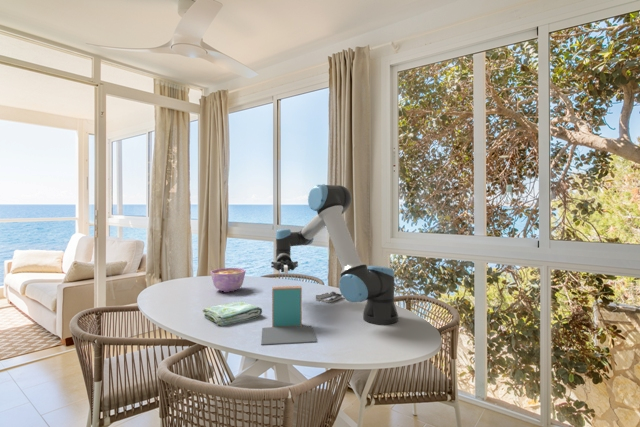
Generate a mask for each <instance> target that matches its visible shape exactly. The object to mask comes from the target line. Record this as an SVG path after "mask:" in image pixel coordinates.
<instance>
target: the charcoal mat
mask: <svg viewBox="0 0 640 427" xmlns="http://www.w3.org/2000/svg"><path fill="white" fill-rule="evenodd" d="M304 343H306V344H310V343H318V340H317V338H316V335H315V332H314V329H313V326H312V324H311V325H302V326H289V327H271V326H269V327H268V326H267V327H262V330H261V344H260V346H266V345H267V346H271V345H285V344H286V345H288V344H304Z"/></svg>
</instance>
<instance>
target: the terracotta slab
mask: <svg viewBox="0 0 640 427" xmlns="http://www.w3.org/2000/svg"><path fill="white" fill-rule="evenodd" d="M271 291H272V292H271V293H272V294H271V295H272V297H271V298H272V300H271V308H272V309H271V311H272V313H271V319H272V320H271V322H272V324H271V325H272V327H289V326H303V324H302V322H303V321H302V319H303V318H302V314H303V312H302V311H303V310H302V307H303V305H302V304H303V303H302V301H303V300H302V298H303V297H302V296H303V292H302V291H303V290H302V286H301V285H293V286H289V285H288V286H272V290H271Z"/></svg>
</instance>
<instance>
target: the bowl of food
mask: <svg viewBox="0 0 640 427" xmlns="http://www.w3.org/2000/svg"><path fill="white" fill-rule="evenodd" d="M210 275H211V280H212V282H213V286H214V287H215V289H216V290H219V291H220V292H222V291H224V292H223V293H230V292H229V291H233V292H235V291H234V290H239V289H240V288H241V287H242V285H243V284H244V281H245V280H244V279H245V277H246V276H245V275H246V269H245V268H239V267H227V268H226V267H223V268H217V269H213V270H210Z"/></svg>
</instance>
